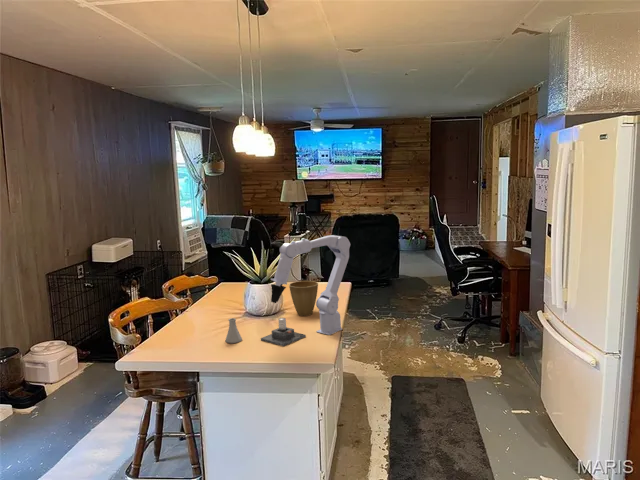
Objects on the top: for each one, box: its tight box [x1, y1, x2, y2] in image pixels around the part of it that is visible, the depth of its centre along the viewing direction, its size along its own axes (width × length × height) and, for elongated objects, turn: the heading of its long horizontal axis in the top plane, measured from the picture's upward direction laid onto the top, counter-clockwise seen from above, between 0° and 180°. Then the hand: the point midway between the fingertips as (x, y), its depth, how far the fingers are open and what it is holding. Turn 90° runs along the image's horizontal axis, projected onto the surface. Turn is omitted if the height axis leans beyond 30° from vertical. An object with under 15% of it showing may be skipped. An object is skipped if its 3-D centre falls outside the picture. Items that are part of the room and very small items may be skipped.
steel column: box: [278, 317, 287, 332], centre depth 213 cm, size 3×3×8 cm
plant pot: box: [288, 280, 319, 317], centre depth 248 cm, size 15×15×16 cm
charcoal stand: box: [260, 326, 307, 347], centre depth 213 cm, size 14×14×4 cm
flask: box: [225, 317, 243, 344], centre depth 214 cm, size 7×7×10 cm
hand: (274, 301), depth 204 cm, fingers open, 7 cm apart
